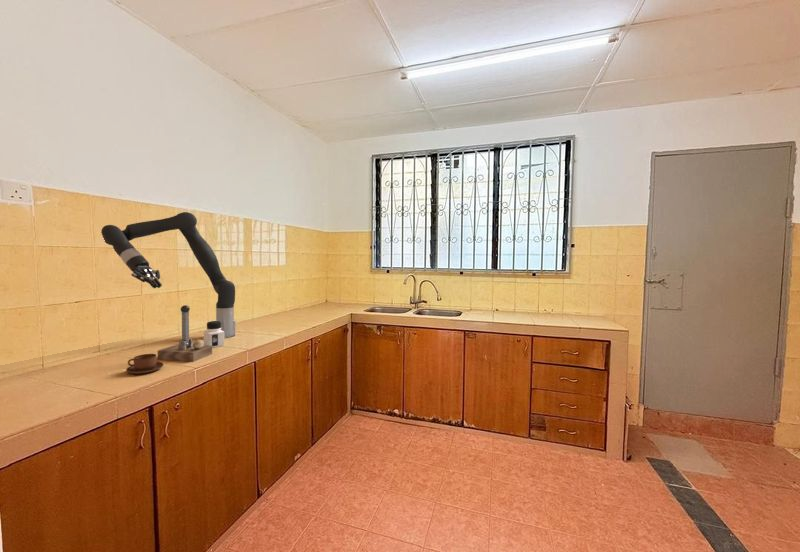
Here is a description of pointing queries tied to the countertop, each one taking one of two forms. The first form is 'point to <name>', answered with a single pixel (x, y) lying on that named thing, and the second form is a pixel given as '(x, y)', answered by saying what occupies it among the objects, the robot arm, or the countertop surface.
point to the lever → (185, 324)
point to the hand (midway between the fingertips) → (158, 286)
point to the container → (214, 334)
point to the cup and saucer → (144, 364)
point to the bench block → (185, 351)
